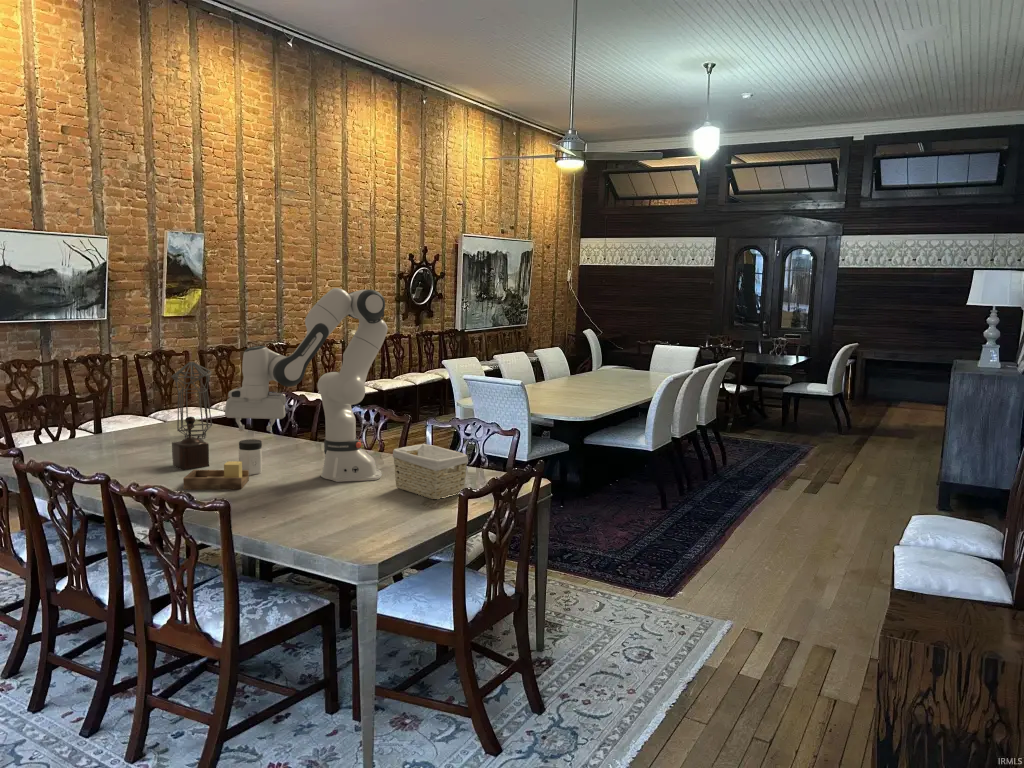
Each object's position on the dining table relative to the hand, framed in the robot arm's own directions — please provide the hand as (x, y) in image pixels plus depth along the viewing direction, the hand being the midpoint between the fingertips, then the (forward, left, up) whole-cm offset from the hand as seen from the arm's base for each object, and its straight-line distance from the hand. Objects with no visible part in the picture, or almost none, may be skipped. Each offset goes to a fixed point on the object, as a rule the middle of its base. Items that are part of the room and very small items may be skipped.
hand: (255, 430), depth 268 cm
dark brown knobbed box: (+32, -30, -20) cm, 48 cm away
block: (+8, 0, -18) cm, 19 cm away
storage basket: (-62, +8, -20) cm, 65 cm away
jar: (+6, -18, -20) cm, 28 cm away
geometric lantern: (+45, -82, -20) cm, 96 cm away
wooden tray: (+13, 0, -20) cm, 23 cm away
